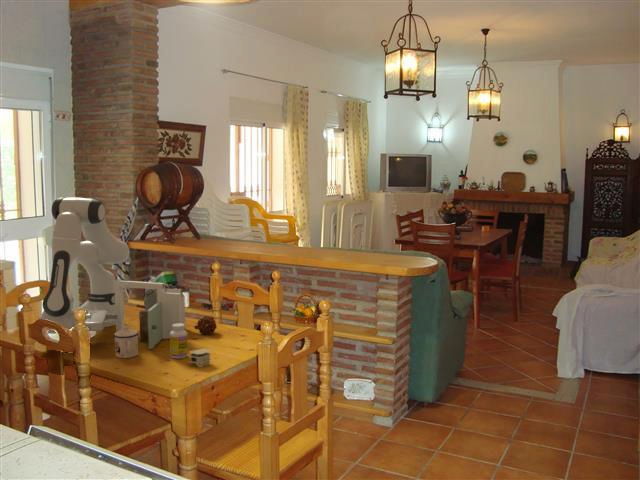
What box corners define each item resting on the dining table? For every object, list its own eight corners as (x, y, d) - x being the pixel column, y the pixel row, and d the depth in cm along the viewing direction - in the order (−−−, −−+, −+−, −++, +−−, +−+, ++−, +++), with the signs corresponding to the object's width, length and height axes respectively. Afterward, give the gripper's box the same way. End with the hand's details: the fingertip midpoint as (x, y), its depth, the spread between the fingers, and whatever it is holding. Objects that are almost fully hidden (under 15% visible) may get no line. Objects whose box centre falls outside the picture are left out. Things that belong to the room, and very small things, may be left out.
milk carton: (178, 332, 278) (177, 290, 275) (164, 331, 279) (162, 290, 277) (185, 328, 285) (184, 287, 282) (171, 327, 286) (169, 287, 284)
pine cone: (211, 340, 271) (199, 338, 280) (224, 326, 275) (212, 324, 284) (199, 326, 268) (188, 324, 277) (213, 312, 272) (201, 311, 281)
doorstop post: (137, 342, 263) (136, 312, 261) (144, 338, 268) (143, 309, 266) (148, 343, 261) (147, 313, 260) (154, 339, 266) (153, 310, 265)
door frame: (116, 334, 275) (114, 281, 272) (119, 332, 277) (117, 280, 274) (179, 340, 266) (178, 285, 263) (182, 338, 268) (181, 284, 265)
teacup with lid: (113, 353, 248) (112, 324, 246) (137, 350, 251) (135, 322, 250) (117, 362, 237) (116, 332, 235) (141, 358, 241) (140, 329, 239)
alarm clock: (168, 314, 310) (167, 285, 308) (169, 317, 303) (169, 287, 301) (144, 316, 306) (143, 286, 304) (145, 320, 299) (144, 289, 297)
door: (155, 349, 252) (154, 310, 250) (148, 348, 252) (147, 310, 250) (166, 337, 268) (164, 301, 265) (159, 337, 268) (158, 301, 266)
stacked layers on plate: (203, 359, 241) (203, 346, 240) (218, 364, 235) (217, 350, 234) (182, 366, 233) (181, 351, 233) (196, 371, 227) (196, 357, 227)
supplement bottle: (178, 360, 239) (177, 328, 237) (166, 357, 243) (165, 325, 241) (191, 355, 244) (190, 324, 243) (179, 353, 248) (178, 321, 247)
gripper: (78, 320, 247) (114, 318, 250) (84, 308, 267) (118, 306, 270) (79, 336, 248) (115, 333, 251) (85, 322, 268) (119, 320, 271)
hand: (117, 319), depth 261 cm, fingers open, 8 cm apart
